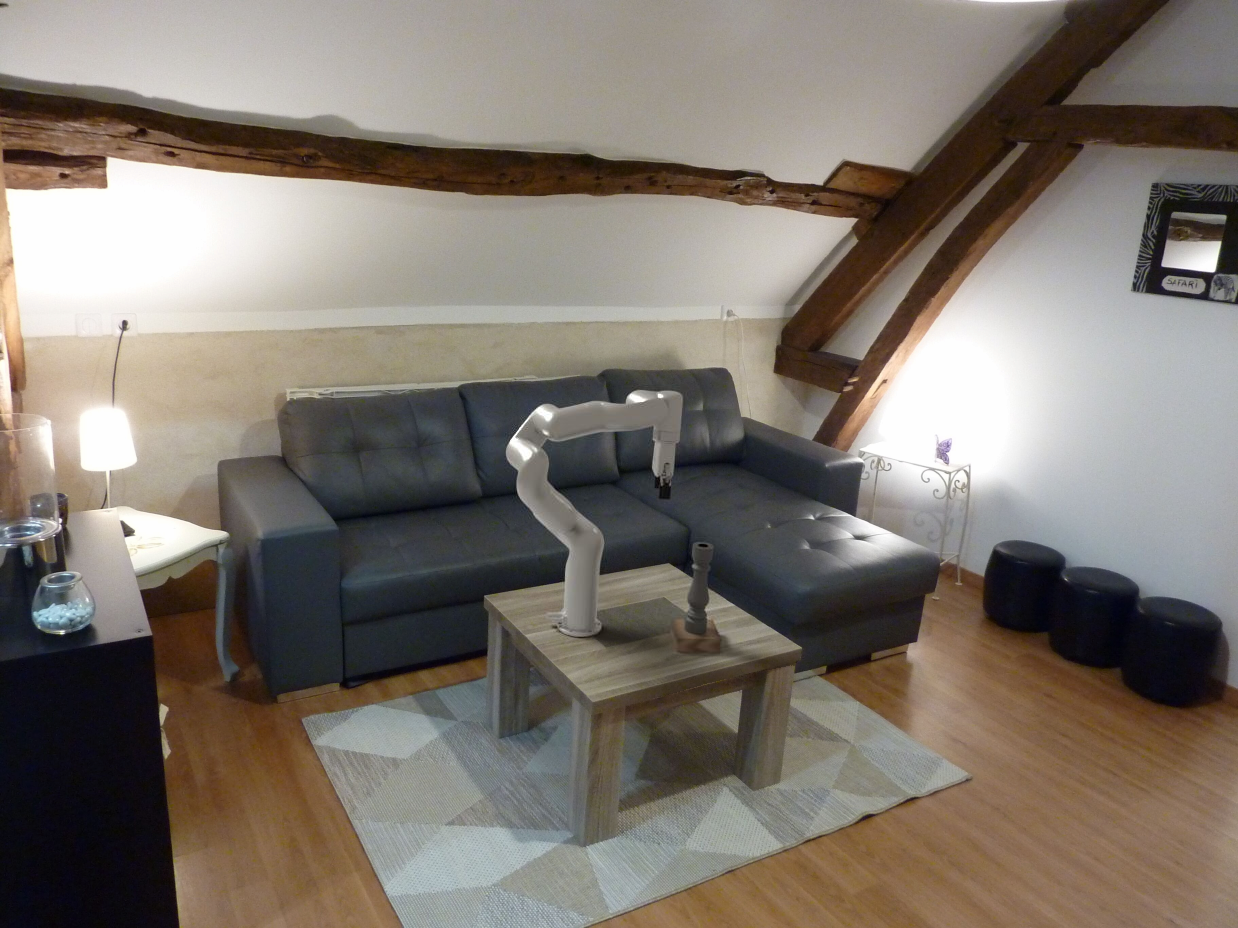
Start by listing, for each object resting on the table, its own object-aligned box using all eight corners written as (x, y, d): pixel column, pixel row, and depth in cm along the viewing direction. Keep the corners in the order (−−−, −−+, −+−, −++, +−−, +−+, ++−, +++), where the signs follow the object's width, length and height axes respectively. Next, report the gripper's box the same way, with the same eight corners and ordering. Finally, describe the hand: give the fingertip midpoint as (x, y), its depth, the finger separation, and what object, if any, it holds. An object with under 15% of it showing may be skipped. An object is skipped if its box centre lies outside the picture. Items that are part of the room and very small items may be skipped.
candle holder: (692, 622, 270) (700, 539, 264) (710, 629, 267) (718, 545, 260) (679, 629, 266) (687, 545, 259) (698, 636, 262) (706, 551, 255)
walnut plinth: (676, 651, 261) (678, 638, 260) (670, 631, 273) (671, 619, 272) (719, 652, 263) (721, 638, 262) (711, 632, 274) (712, 619, 273)
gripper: (649, 427, 275) (645, 484, 279) (657, 442, 258) (652, 502, 263) (675, 428, 275) (670, 484, 280) (684, 443, 259) (679, 503, 264)
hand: (661, 493), depth 271 cm, fingers open, 9 cm apart
